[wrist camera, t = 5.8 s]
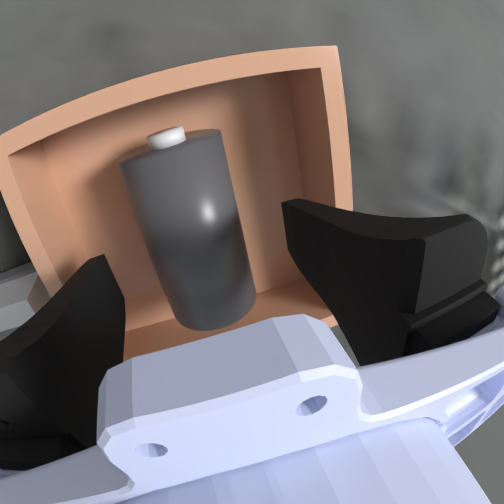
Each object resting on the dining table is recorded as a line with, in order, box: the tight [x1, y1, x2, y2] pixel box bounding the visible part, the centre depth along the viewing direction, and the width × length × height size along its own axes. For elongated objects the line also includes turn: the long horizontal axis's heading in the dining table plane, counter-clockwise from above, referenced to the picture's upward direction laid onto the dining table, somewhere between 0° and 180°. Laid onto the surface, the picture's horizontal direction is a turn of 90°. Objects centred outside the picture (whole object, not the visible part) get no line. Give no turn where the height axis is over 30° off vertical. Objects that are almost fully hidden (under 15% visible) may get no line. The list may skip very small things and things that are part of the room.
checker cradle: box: [0, 262, 51, 341], centre depth 15 cm, size 12×7×4 cm, turn 10°
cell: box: [116, 126, 256, 331], centre depth 13 cm, size 8×4×4 cm, turn 10°
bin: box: [0, 46, 353, 362], centre depth 13 cm, size 13×13×4 cm
